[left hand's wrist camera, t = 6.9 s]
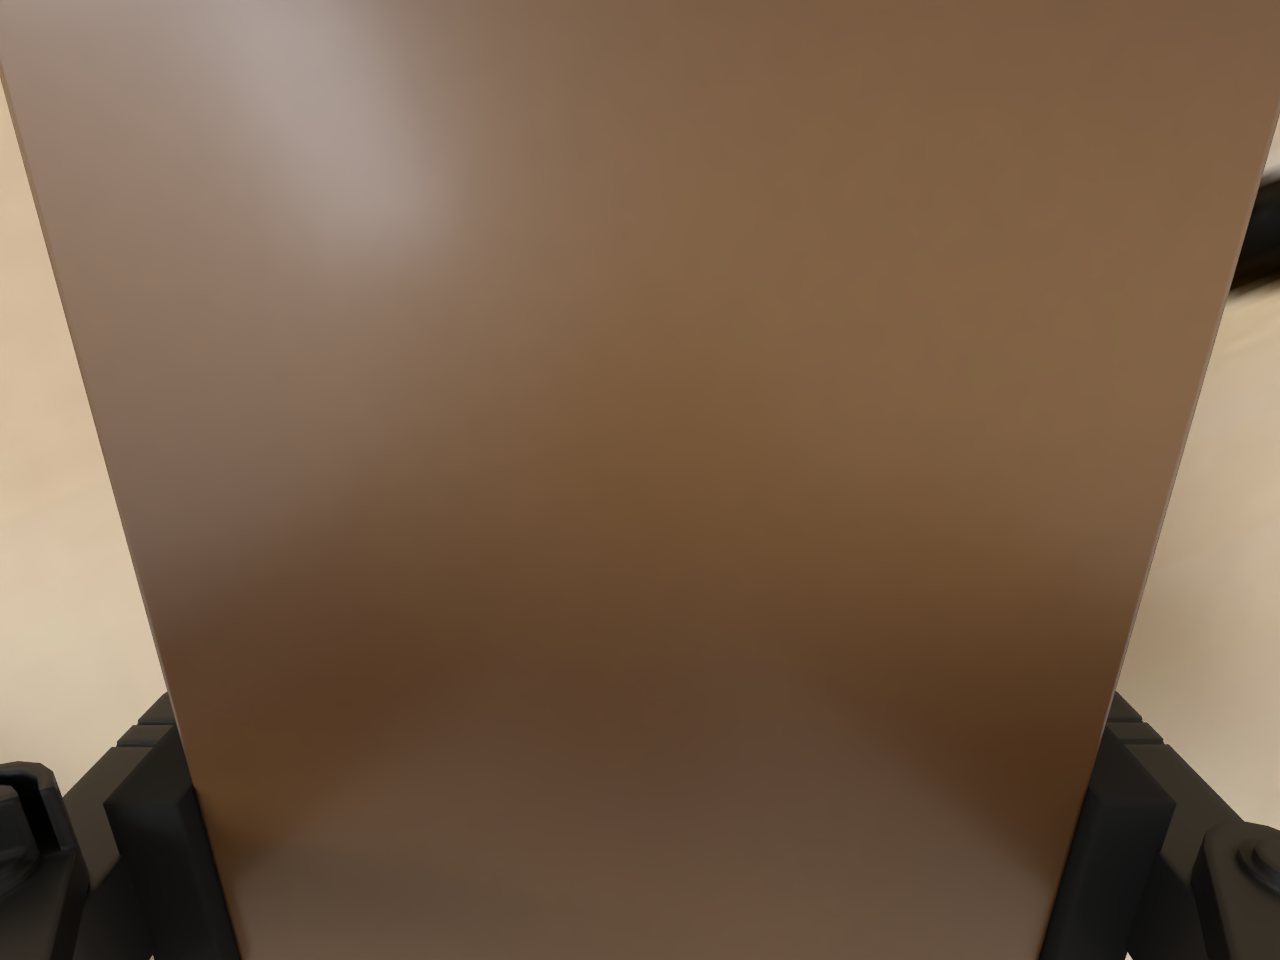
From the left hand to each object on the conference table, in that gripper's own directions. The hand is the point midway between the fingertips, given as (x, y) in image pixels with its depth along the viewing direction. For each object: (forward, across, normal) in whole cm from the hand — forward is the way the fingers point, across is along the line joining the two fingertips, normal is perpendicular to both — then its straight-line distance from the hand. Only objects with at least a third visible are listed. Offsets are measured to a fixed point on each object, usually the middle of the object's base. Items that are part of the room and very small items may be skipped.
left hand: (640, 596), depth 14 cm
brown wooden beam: (+1, 0, -22) cm, 22 cm away
